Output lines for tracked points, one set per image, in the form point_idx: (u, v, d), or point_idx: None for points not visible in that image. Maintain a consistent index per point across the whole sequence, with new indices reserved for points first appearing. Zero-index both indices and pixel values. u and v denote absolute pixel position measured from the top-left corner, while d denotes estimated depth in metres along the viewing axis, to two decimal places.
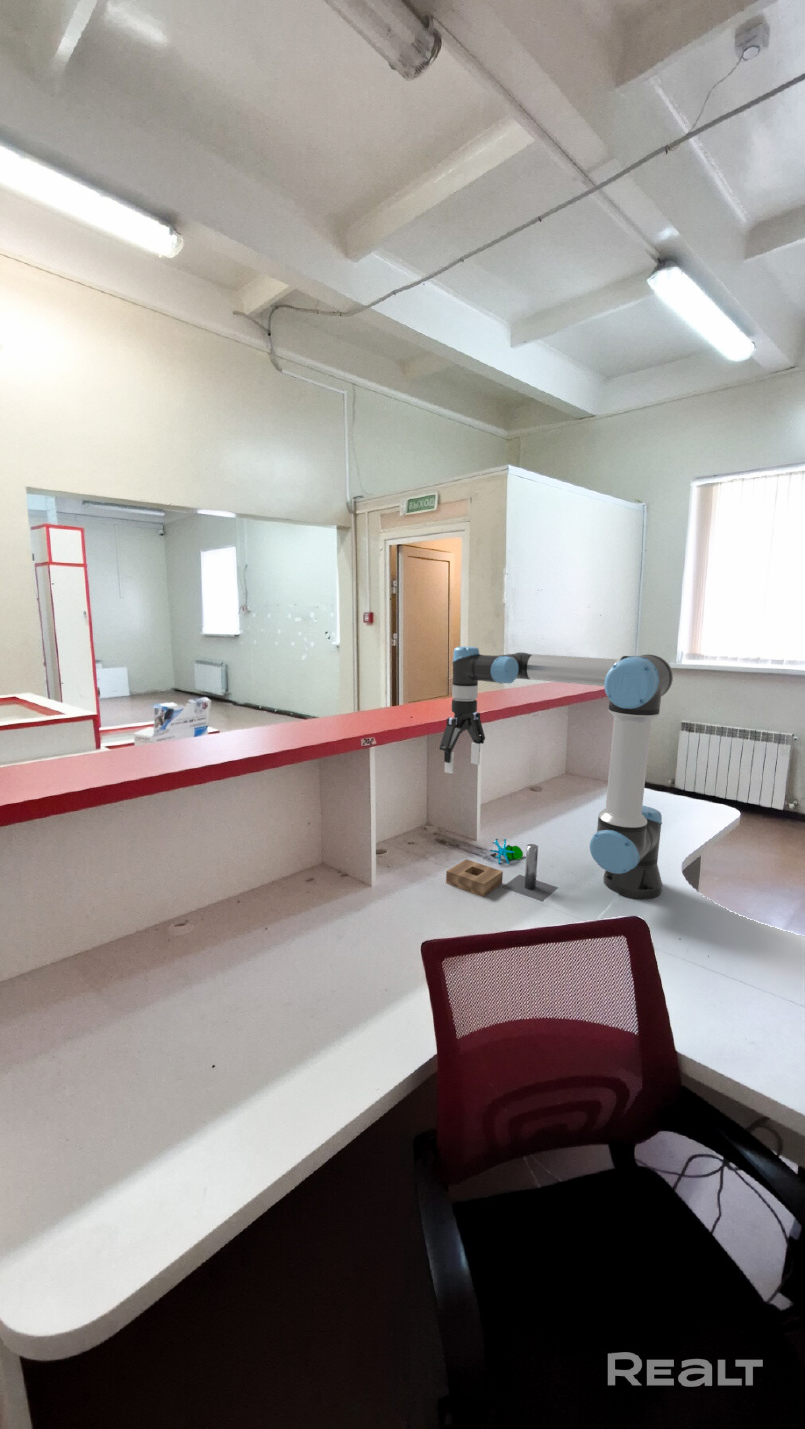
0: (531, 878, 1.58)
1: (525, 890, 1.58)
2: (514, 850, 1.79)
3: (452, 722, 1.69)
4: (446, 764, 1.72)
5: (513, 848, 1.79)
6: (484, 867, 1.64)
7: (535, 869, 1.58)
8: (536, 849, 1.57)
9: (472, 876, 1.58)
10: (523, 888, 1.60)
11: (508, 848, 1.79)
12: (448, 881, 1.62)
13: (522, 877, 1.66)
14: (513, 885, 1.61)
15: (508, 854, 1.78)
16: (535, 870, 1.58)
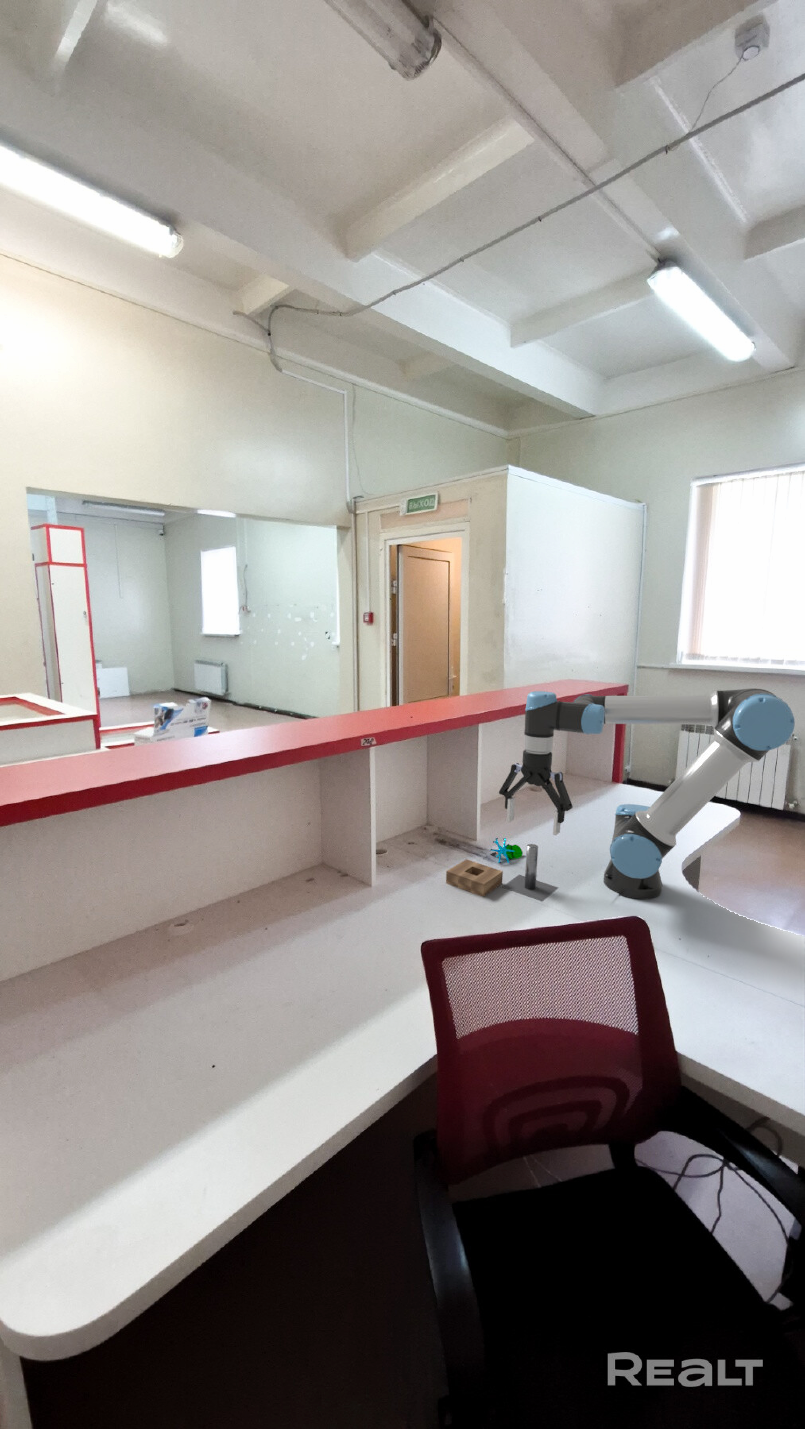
0: (531, 878, 1.58)
1: (525, 890, 1.58)
2: (514, 849, 1.80)
3: None
4: None
5: (513, 847, 1.80)
6: (484, 867, 1.64)
7: (535, 869, 1.58)
8: (536, 849, 1.57)
9: (472, 876, 1.58)
10: (523, 888, 1.60)
11: (508, 847, 1.79)
12: (448, 881, 1.62)
13: (522, 877, 1.66)
14: (513, 885, 1.61)
15: (508, 853, 1.78)
16: (535, 870, 1.58)
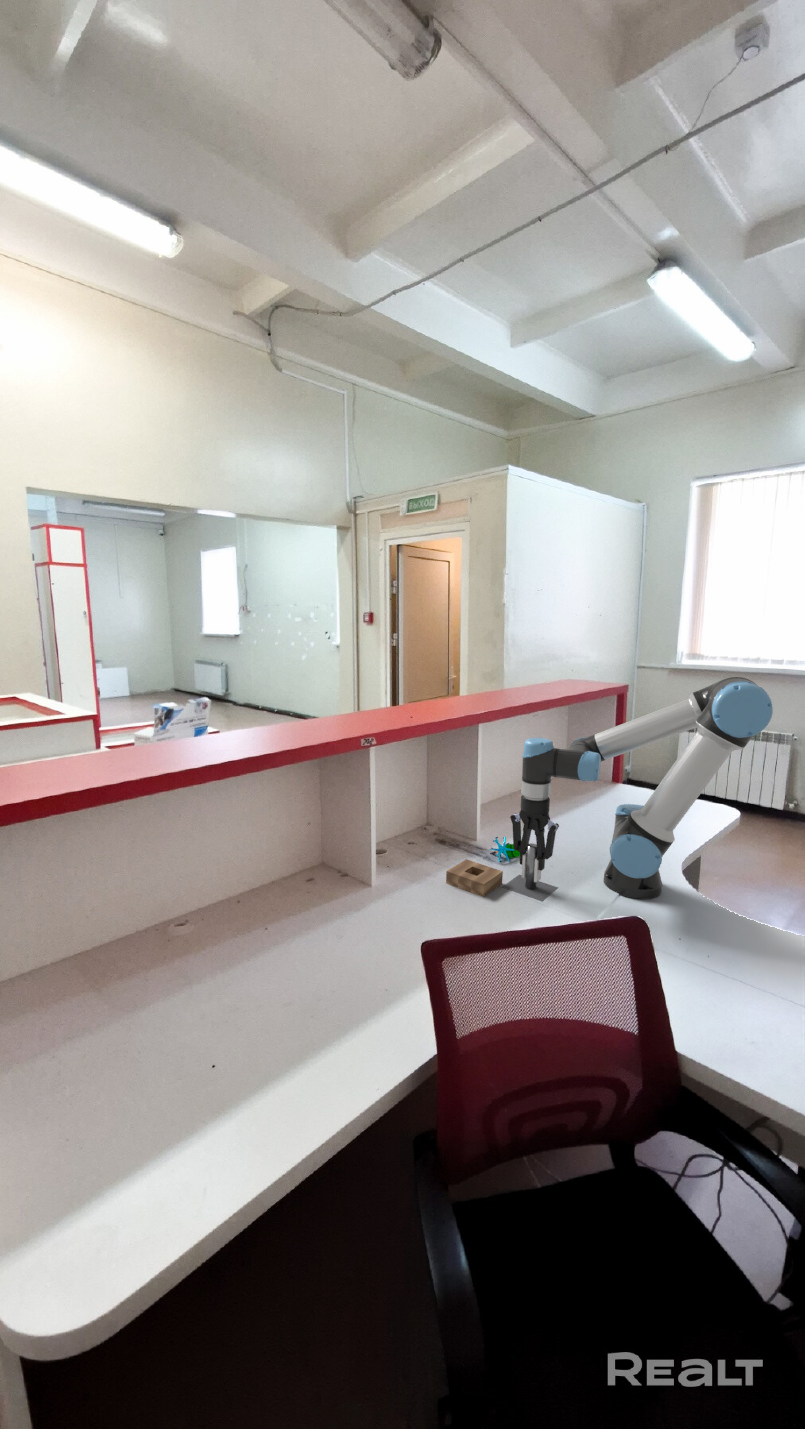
0: (531, 877, 1.58)
1: (525, 890, 1.58)
2: None
3: None
4: None
5: None
6: (484, 867, 1.64)
7: None
8: (536, 848, 1.57)
9: (472, 876, 1.58)
10: (523, 888, 1.60)
11: (508, 846, 1.80)
12: (448, 881, 1.62)
13: None
14: (513, 885, 1.61)
15: (508, 852, 1.79)
16: None
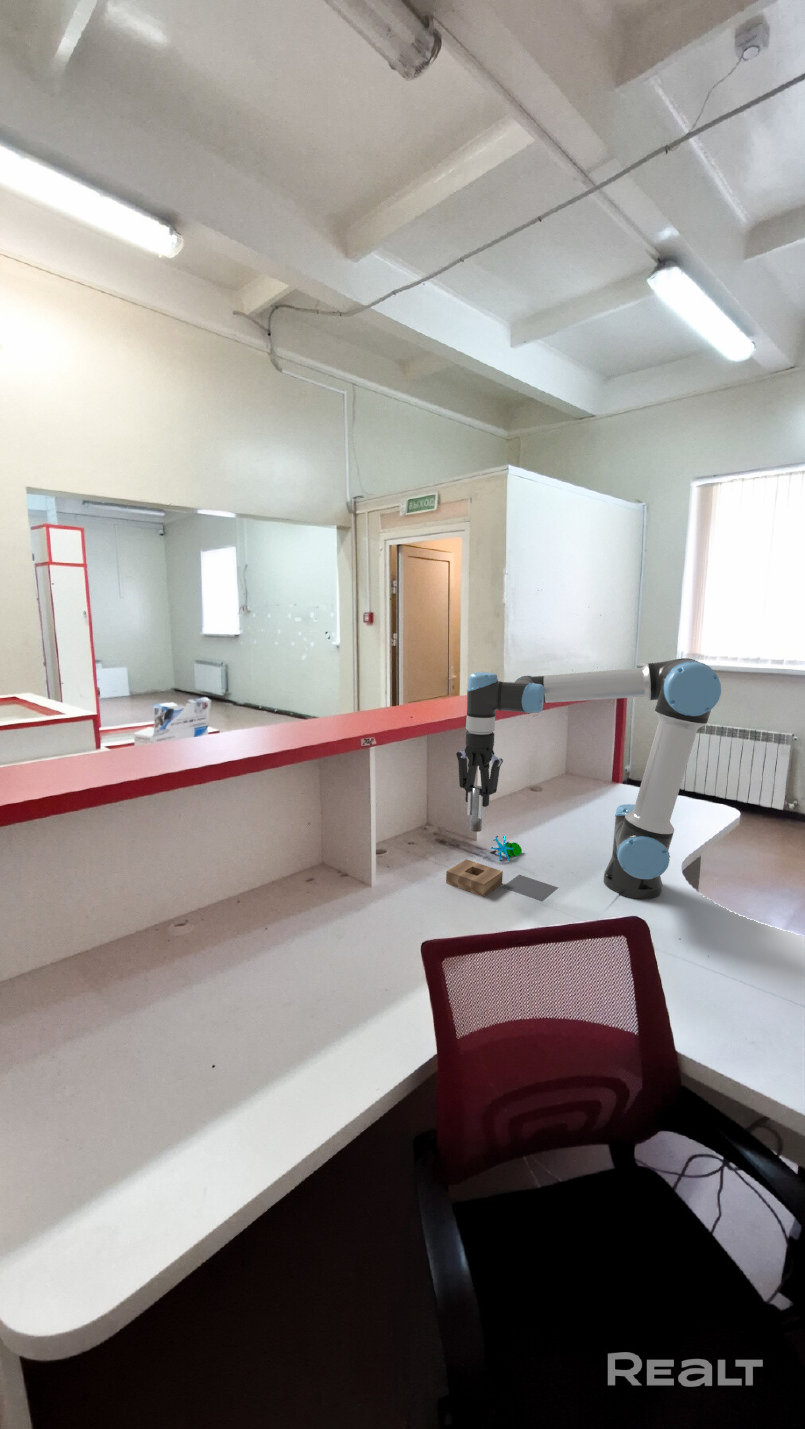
0: (476, 819, 1.57)
1: (525, 890, 1.58)
2: (513, 847, 1.81)
3: None
4: None
5: (513, 845, 1.82)
6: (484, 867, 1.64)
7: None
8: (481, 790, 1.56)
9: (472, 876, 1.58)
10: (523, 888, 1.60)
11: (507, 845, 1.81)
12: (448, 881, 1.62)
13: (522, 877, 1.66)
14: (513, 885, 1.61)
15: (508, 851, 1.80)
16: None
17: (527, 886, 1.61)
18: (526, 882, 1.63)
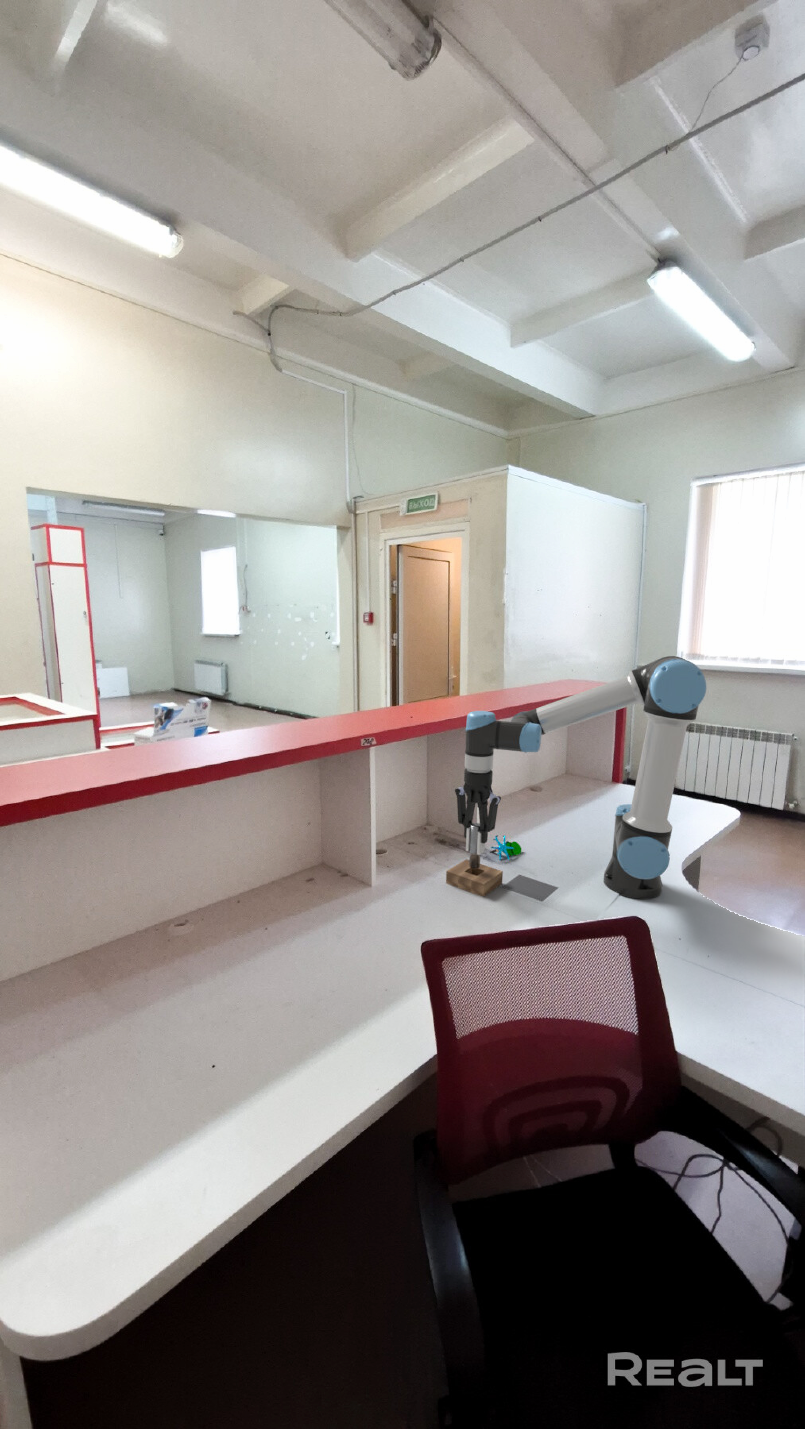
0: (474, 856, 1.59)
1: (525, 890, 1.58)
2: (513, 846, 1.82)
3: None
4: None
5: (512, 844, 1.82)
6: (484, 867, 1.64)
7: None
8: (479, 827, 1.58)
9: (472, 876, 1.58)
10: (523, 888, 1.60)
11: (507, 844, 1.82)
12: (448, 881, 1.62)
13: (522, 877, 1.66)
14: (513, 885, 1.61)
15: (508, 850, 1.81)
16: None
17: (527, 886, 1.61)
18: (526, 882, 1.63)
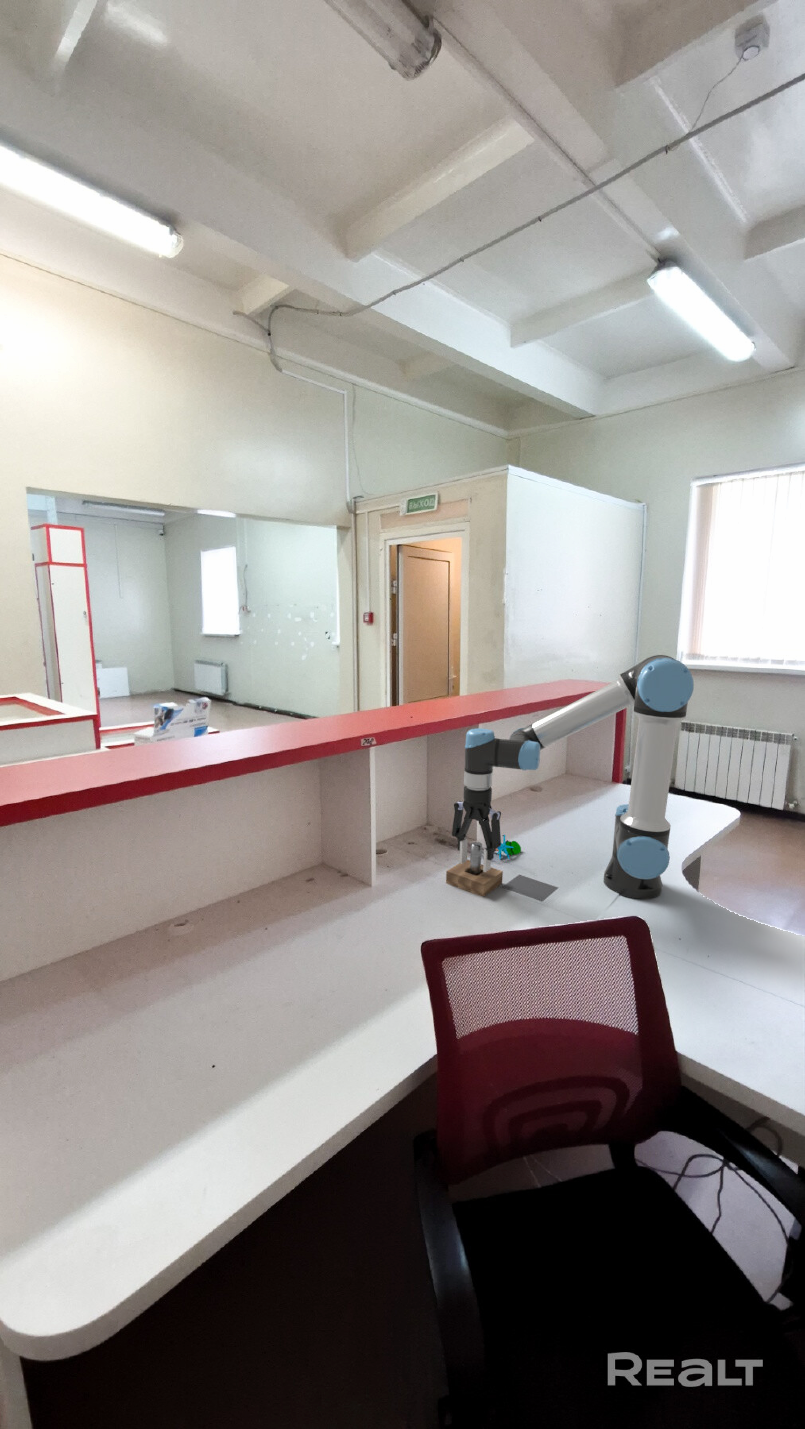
0: None
1: (525, 890, 1.58)
2: (513, 845, 1.82)
3: None
4: None
5: (512, 843, 1.83)
6: None
7: (479, 867, 1.60)
8: (480, 847, 1.59)
9: (472, 876, 1.58)
10: (523, 888, 1.60)
11: (507, 843, 1.82)
12: (448, 881, 1.62)
13: (522, 877, 1.66)
14: (513, 885, 1.61)
15: (508, 849, 1.81)
16: (479, 868, 1.60)
17: (527, 886, 1.61)
18: (526, 882, 1.63)
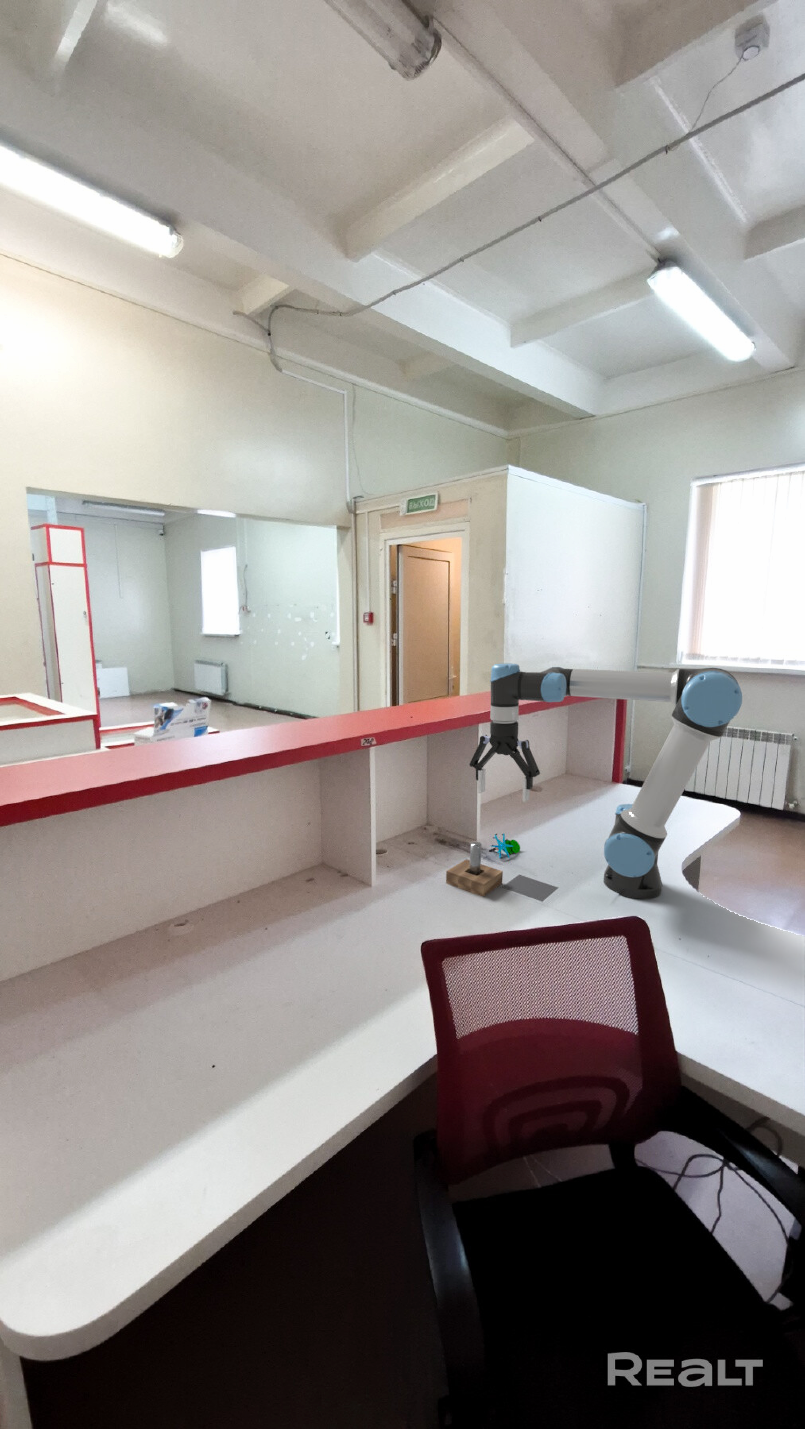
0: None
1: (525, 890, 1.58)
2: (512, 844, 1.83)
3: None
4: None
5: (511, 842, 1.84)
6: (484, 867, 1.64)
7: (479, 866, 1.60)
8: (479, 847, 1.59)
9: (472, 876, 1.58)
10: (523, 888, 1.60)
11: (507, 842, 1.83)
12: (448, 881, 1.62)
13: (522, 877, 1.66)
14: (513, 885, 1.61)
15: (507, 848, 1.82)
16: (479, 867, 1.60)
17: (527, 886, 1.61)
18: (526, 882, 1.63)
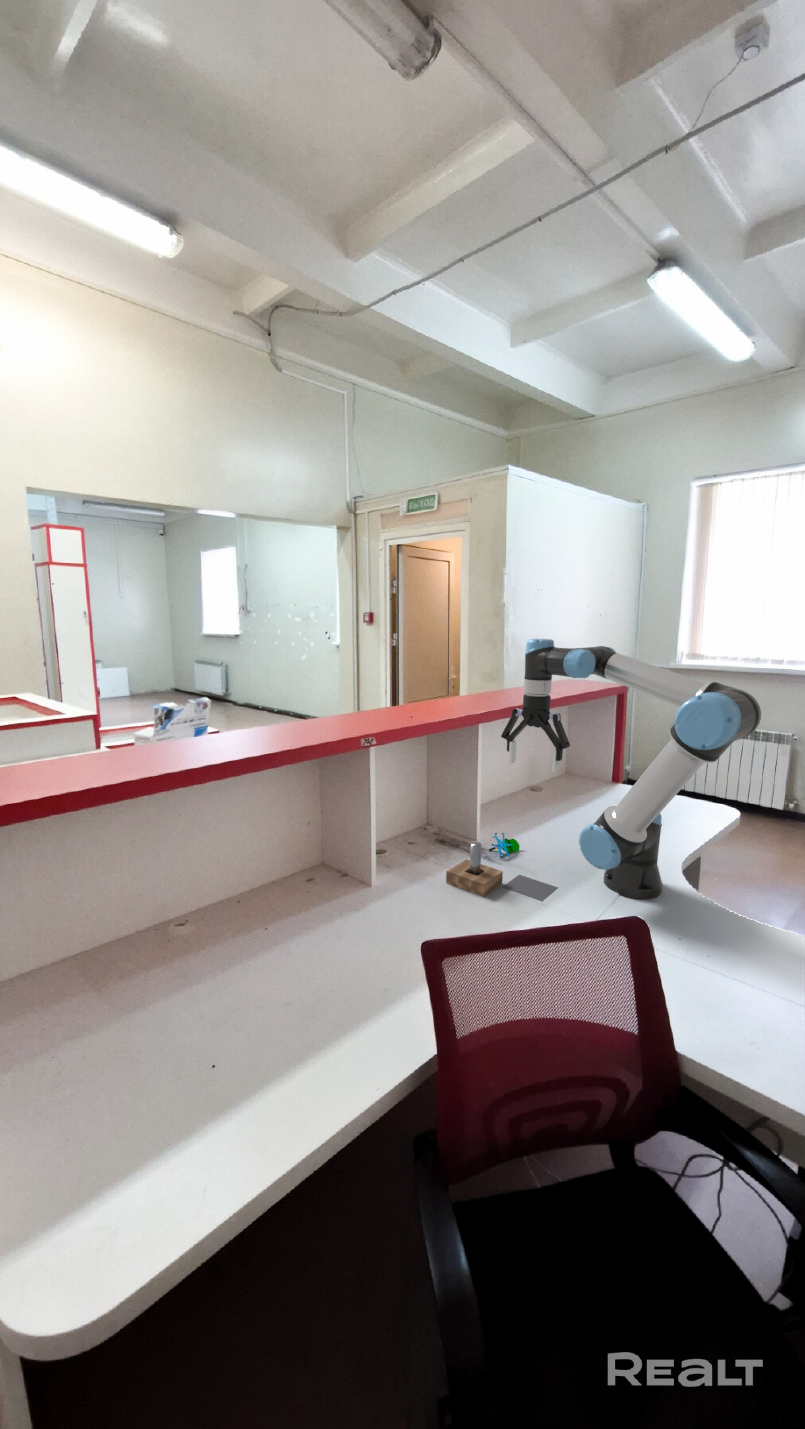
0: None
1: (525, 890, 1.58)
2: (512, 843, 1.84)
3: None
4: None
5: (511, 841, 1.84)
6: (484, 867, 1.64)
7: (479, 867, 1.60)
8: (479, 847, 1.59)
9: (472, 876, 1.58)
10: (523, 888, 1.60)
11: (506, 841, 1.84)
12: (448, 881, 1.62)
13: (522, 877, 1.66)
14: (513, 885, 1.61)
15: (507, 847, 1.83)
16: (479, 867, 1.60)
17: (527, 886, 1.61)
18: (526, 882, 1.63)
